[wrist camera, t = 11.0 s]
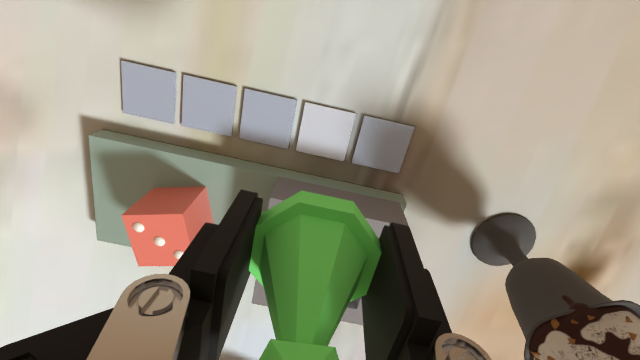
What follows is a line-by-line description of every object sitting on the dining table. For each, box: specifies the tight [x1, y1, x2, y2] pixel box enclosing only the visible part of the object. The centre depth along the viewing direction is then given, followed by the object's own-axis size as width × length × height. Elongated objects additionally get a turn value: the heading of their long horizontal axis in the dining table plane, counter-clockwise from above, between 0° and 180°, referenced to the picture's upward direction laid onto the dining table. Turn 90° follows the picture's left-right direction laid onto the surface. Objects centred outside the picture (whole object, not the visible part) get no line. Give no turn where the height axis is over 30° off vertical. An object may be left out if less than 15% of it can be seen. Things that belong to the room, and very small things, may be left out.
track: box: [121, 60, 415, 173], centre depth 23 cm, size 4×20×1 cm, turn 78°
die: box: [121, 187, 214, 266], centre depth 23 cm, size 4×4×4 cm
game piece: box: [249, 191, 381, 360], centre depth 8 cm, size 4×4×6 cm
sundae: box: [471, 214, 640, 360], centre depth 20 cm, size 7×7×15 cm
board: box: [88, 129, 408, 325], centre depth 25 cm, size 9×23×5 cm, turn 78°
